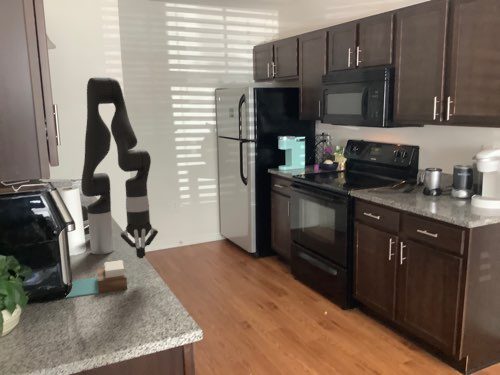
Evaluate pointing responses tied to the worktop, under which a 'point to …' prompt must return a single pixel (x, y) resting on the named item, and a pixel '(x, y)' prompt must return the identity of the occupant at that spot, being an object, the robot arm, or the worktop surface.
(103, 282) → the board
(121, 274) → the tile
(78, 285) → the mat
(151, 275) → the worktop surface
